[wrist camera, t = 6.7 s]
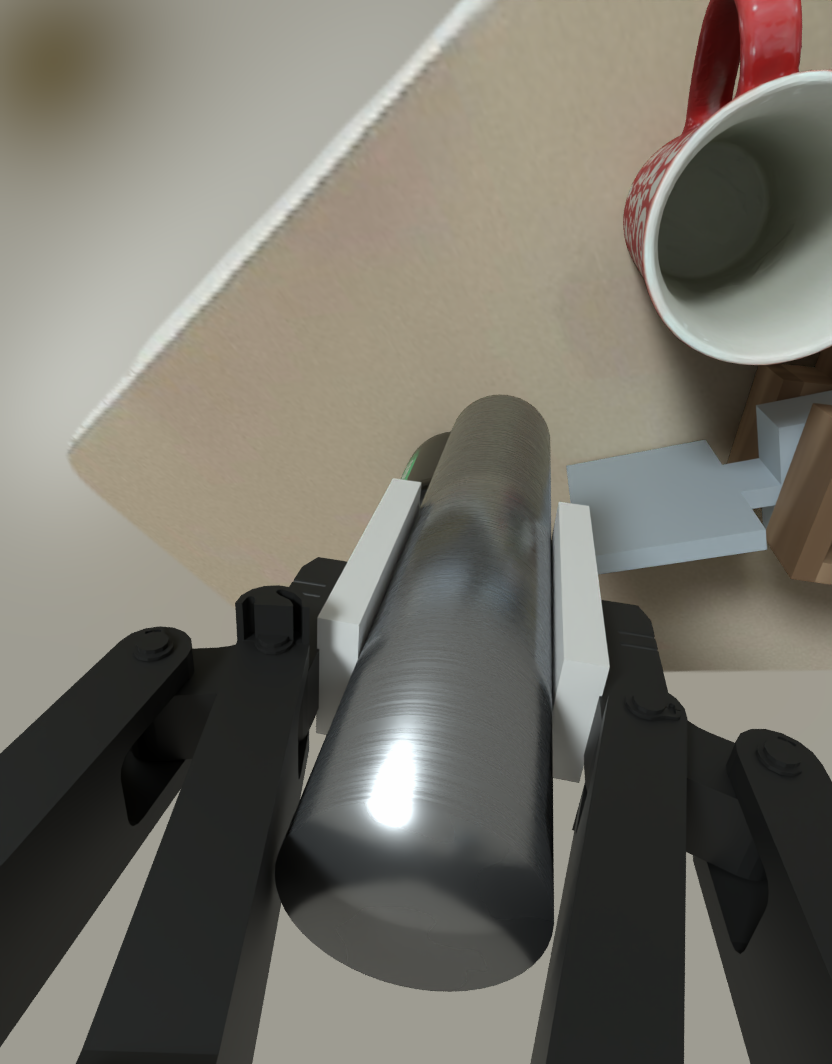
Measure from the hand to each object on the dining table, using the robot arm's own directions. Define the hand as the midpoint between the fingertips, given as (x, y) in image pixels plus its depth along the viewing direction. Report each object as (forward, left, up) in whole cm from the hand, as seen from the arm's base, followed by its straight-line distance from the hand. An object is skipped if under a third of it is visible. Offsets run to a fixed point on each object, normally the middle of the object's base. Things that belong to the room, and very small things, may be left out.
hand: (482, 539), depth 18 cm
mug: (-8, -9, -24) cm, 27 cm away
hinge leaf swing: (-12, +4, -24) cm, 27 cm away
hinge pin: (0, 0, -8) cm, 8 cm away
